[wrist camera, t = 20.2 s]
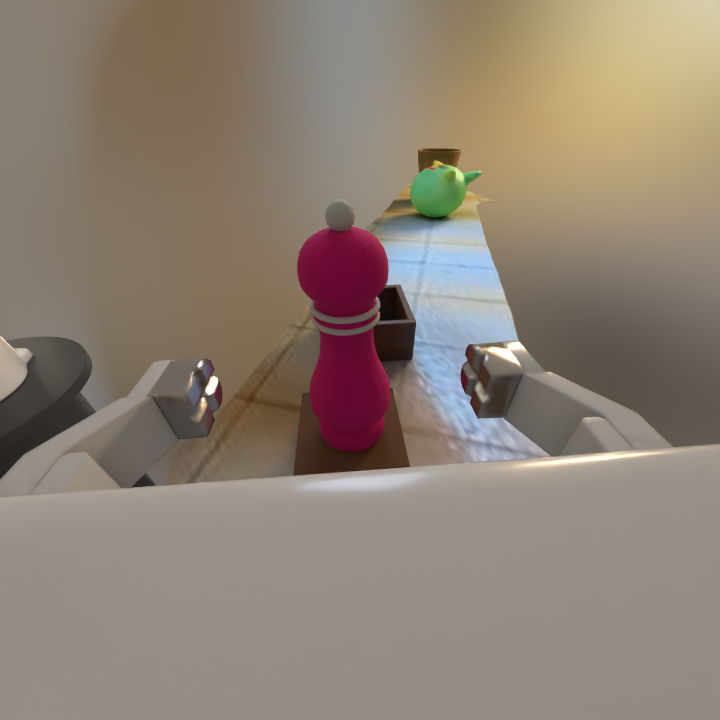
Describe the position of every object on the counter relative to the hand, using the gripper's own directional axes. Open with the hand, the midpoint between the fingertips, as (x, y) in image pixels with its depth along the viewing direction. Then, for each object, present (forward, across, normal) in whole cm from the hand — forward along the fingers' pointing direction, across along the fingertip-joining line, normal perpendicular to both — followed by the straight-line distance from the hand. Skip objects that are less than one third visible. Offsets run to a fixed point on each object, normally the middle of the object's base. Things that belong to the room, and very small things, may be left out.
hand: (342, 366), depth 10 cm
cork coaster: (+12, 0, +18) cm, 21 cm away
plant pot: (+120, -38, +18) cm, 127 cm away
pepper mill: (+12, 0, +18) cm, 21 cm away
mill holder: (+28, -3, +18) cm, 33 cm away
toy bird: (+95, -32, +18) cm, 101 cm away
